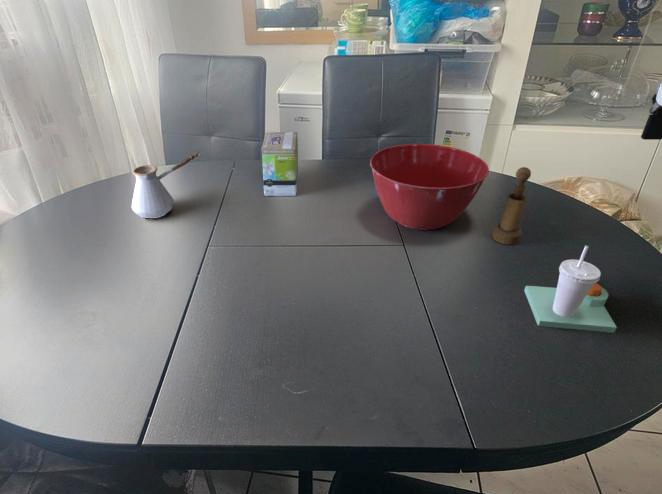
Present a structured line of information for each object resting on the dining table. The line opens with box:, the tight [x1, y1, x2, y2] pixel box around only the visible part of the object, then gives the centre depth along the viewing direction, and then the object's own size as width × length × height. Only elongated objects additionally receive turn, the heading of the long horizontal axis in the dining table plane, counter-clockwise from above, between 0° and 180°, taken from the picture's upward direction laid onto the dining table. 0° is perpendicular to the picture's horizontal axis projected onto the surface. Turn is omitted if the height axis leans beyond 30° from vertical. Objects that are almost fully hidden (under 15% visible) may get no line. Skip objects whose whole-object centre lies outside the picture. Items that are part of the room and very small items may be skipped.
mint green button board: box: [523, 285, 618, 334], centre depth 86 cm, size 14×11×3 cm
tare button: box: [587, 282, 603, 296], centre depth 86 cm, size 3×3×2 cm
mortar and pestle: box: [491, 166, 532, 246], centre depth 104 cm, size 7×6×18 cm
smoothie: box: [553, 245, 602, 317], centre depth 80 cm, size 6×6×14 cm
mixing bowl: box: [369, 143, 490, 231], centre depth 114 cm, size 28×28×16 cm
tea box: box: [261, 131, 299, 197], centre depth 134 cm, size 15×10×15 cm, turn 178°
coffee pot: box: [131, 152, 203, 218], centre depth 123 cm, size 21×12×15 cm, turn 114°
